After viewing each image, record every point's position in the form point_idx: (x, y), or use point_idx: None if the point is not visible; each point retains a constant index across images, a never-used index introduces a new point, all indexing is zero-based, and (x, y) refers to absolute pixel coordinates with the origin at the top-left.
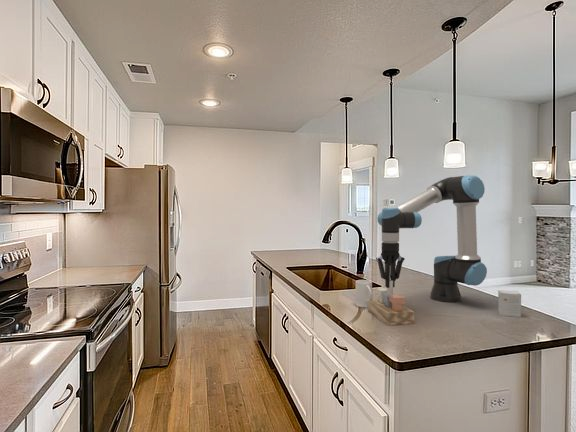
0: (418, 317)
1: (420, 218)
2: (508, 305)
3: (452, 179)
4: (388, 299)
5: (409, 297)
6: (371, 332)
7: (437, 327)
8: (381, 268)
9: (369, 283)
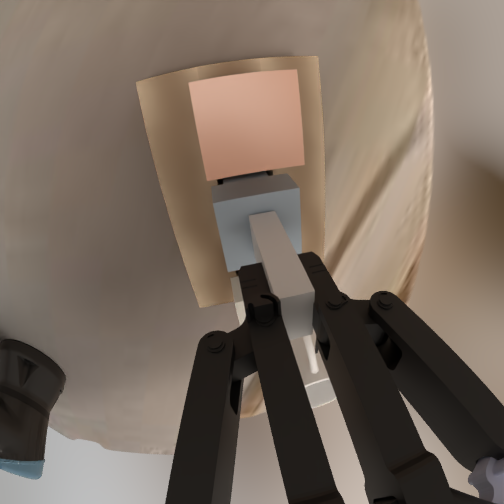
0: (103, 179)
1: None
2: None
3: None
4: (285, 181)
5: (118, 381)
6: (384, 8)
7: (66, 47)
8: (476, 377)
9: (306, 383)
